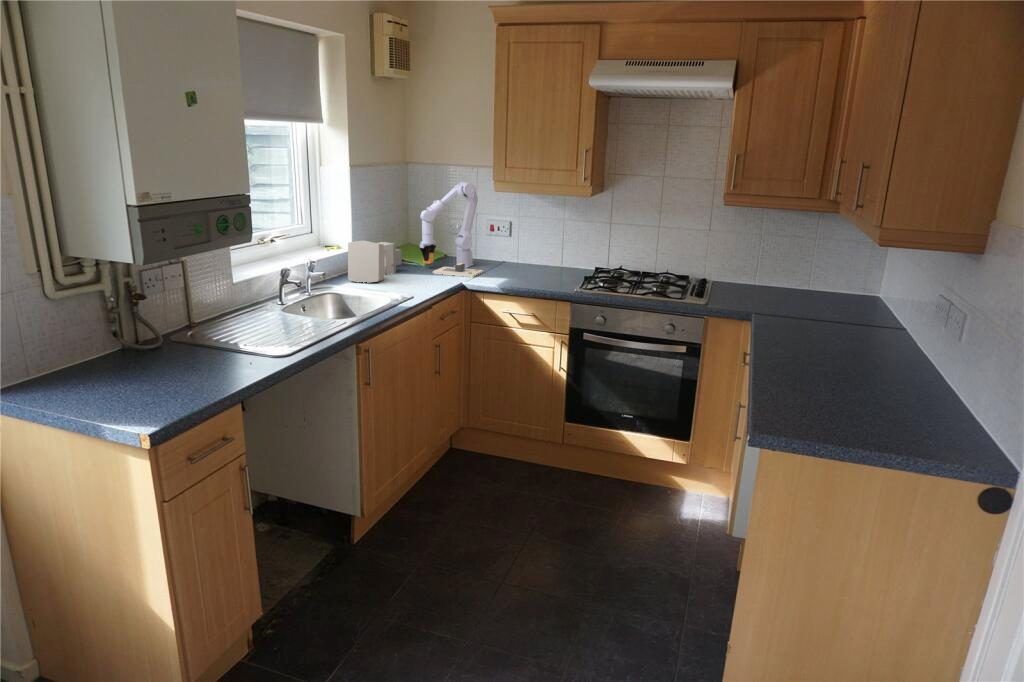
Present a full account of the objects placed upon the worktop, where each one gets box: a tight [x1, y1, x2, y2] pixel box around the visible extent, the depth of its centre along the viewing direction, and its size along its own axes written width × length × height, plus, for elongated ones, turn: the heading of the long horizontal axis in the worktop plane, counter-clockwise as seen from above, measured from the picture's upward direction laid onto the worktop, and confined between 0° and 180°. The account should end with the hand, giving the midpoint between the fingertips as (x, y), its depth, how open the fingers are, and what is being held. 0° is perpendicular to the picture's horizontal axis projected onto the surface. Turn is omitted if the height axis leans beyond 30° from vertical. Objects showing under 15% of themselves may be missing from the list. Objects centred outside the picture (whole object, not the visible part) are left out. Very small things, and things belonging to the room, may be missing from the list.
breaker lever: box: [454, 263, 466, 271], centre depth 346 cm, size 5×3×3 cm, turn 160°
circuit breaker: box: [379, 241, 403, 276], centre depth 342 cm, size 8×14×15 cm, turn 148°
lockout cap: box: [422, 253, 434, 265], centre depth 355 cm, size 4×4×5 cm
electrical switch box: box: [347, 239, 385, 284], centre depth 325 cm, size 15×15×20 cm
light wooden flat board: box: [432, 266, 484, 278], centre depth 347 cm, size 14×22×2 cm, turn 70°
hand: (428, 259), depth 356 cm, fingers closed on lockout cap, 4 cm apart
